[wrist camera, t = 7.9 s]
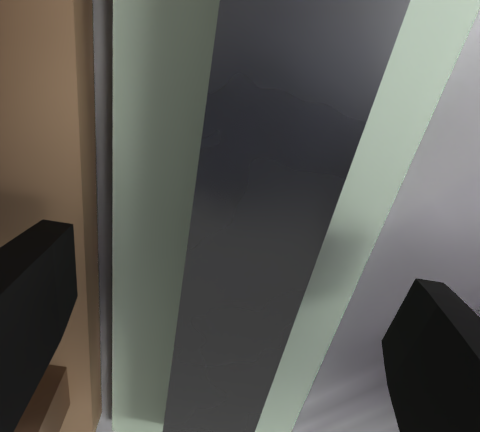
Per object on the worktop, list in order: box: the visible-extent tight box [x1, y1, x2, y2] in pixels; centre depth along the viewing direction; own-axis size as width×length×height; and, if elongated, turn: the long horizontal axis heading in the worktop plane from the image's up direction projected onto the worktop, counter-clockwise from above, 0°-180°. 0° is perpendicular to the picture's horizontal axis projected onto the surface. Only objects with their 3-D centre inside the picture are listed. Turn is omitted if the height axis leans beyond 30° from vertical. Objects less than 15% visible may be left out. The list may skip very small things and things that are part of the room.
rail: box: [163, 0, 410, 432], centre depth 10 cm, size 2×18×2 cm, turn 170°
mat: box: [112, 0, 480, 432], centre depth 11 cm, size 6×20×1 cm, turn 170°
